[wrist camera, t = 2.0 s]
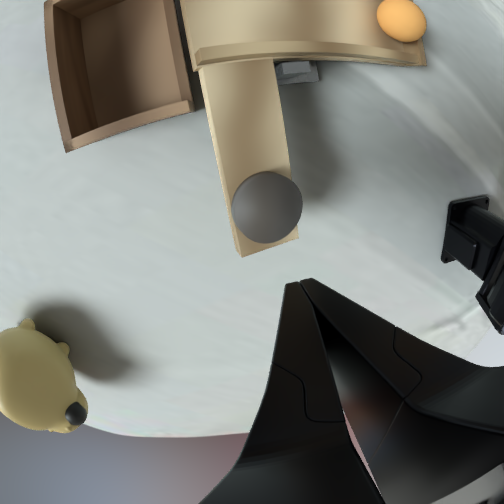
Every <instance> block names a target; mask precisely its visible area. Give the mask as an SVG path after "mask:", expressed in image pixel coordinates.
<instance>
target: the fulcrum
mask: <svg viewBox="0 0 504 504" xmlns="http://www.w3.org/2000/svg"><path fill="white" fill-rule="evenodd" d="M273 64H274V69H275V75H276V80H277V85H282V84H292V83H304V82H317V81H319V77H318V71H317V66H316V60H295V61H274V62H273Z"/></svg>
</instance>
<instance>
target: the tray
mask: <svg viewBox="0 0 504 504" xmlns="http://www.w3.org/2000/svg"><path fill="white" fill-rule="evenodd" d="M44 23H45V39H46V51H47V60H48V68H49V75H50V82H51V88H52V94H53V100H54V105H55V110H56V115H57V119H58V124H59V128H60V132H61V137H62V141H63V145H64V148H65V152H66V153H67V152H70V151H73V150H75V149H78V148H80V147H83V146H86V145H89V144H91V143H94V142H97V141H100V140H102V139H105V138H108V137H110V136H113V135H116V134H119V133H122V132H125V131H128V130H131V129H134V128H137V127H140V126H143V125H147V124H150V123H153V122H157V121H160V120H164V119H167V118H171V117H175V116H179V115H183V114H187V113H191V112H195V106H194V101H193V96H192V91H191V86H190V81H189V76H188V71H187V66H186V61H185V56H184V50H183V45H182V40H181V34H180V29H179V23H178V18H177V12H176V7H175V1H174V0H47V1H45V2H44Z"/></svg>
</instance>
